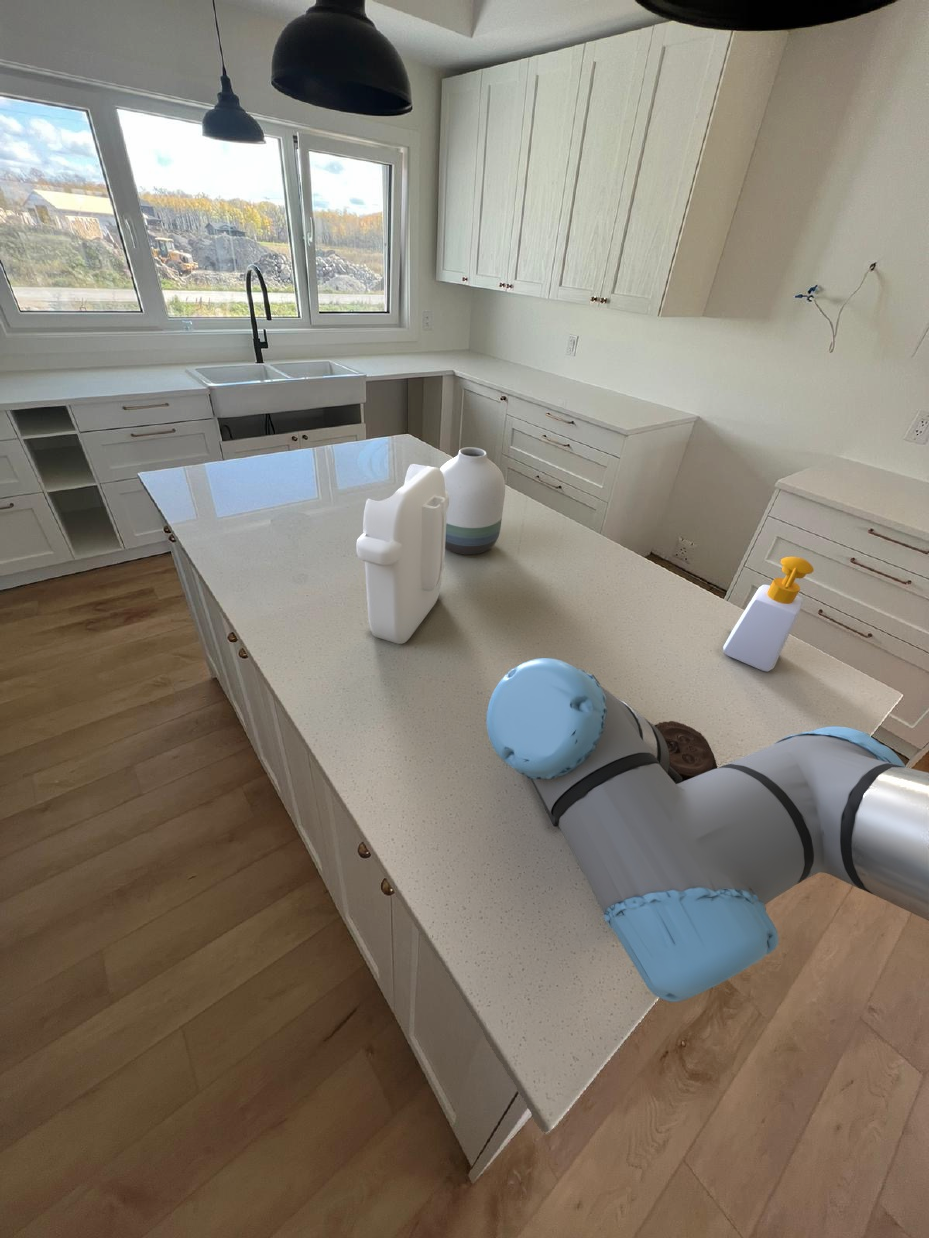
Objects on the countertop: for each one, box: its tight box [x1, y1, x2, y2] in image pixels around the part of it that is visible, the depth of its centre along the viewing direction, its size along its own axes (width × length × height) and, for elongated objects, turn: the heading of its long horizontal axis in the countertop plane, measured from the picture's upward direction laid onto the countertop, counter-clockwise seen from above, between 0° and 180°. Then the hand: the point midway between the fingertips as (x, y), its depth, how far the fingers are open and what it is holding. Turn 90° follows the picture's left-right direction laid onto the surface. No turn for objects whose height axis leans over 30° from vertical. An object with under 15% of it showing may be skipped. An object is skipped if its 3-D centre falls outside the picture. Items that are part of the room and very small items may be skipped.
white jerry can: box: [355, 463, 449, 645], centre depth 98 cm, size 27×11×30 cm, turn 160°
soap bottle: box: [722, 556, 815, 672], centre depth 97 cm, size 10×14×22 cm
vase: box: [439, 446, 506, 555], centre depth 125 cm, size 17×17×24 cm
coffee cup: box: [653, 720, 718, 782], centre depth 58 cm, size 9×8×13 cm
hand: (676, 782), depth 60 cm, fingers closed on coffee cup, 8 cm apart
